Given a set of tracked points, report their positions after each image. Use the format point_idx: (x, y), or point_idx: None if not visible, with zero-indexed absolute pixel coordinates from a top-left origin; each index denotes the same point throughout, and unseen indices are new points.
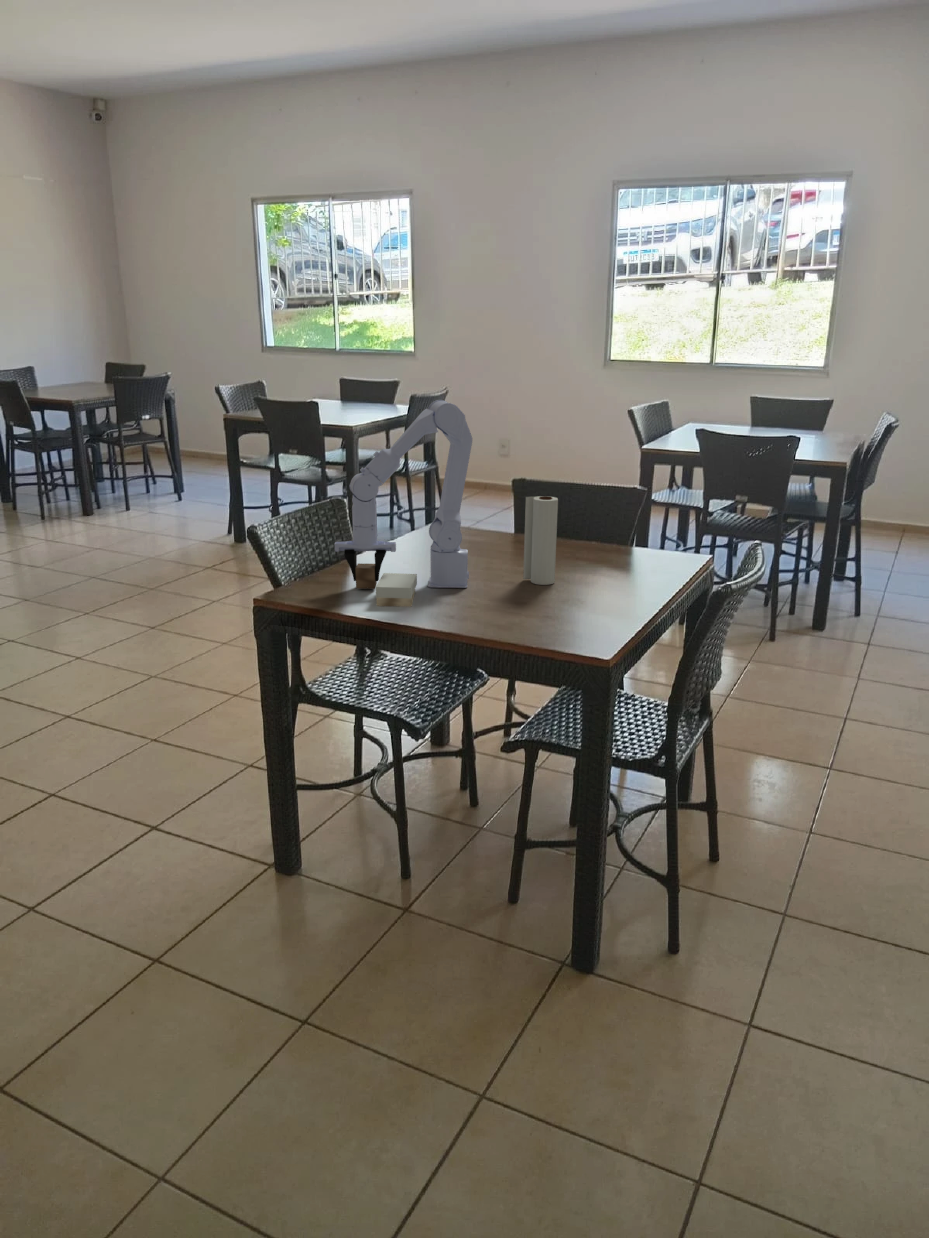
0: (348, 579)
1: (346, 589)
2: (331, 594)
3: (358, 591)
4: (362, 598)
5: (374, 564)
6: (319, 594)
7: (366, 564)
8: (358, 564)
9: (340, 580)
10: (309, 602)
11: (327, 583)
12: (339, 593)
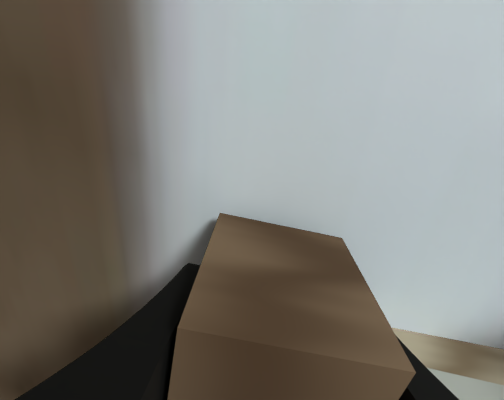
0: (148, 2)
1: (151, 258)
2: (83, 322)
3: None
4: None
5: (382, 395)
6: (23, 313)
7: (285, 382)
8: (187, 364)
9: (85, 27)
10: (13, 396)
11: (4, 105)
12: (120, 315)
